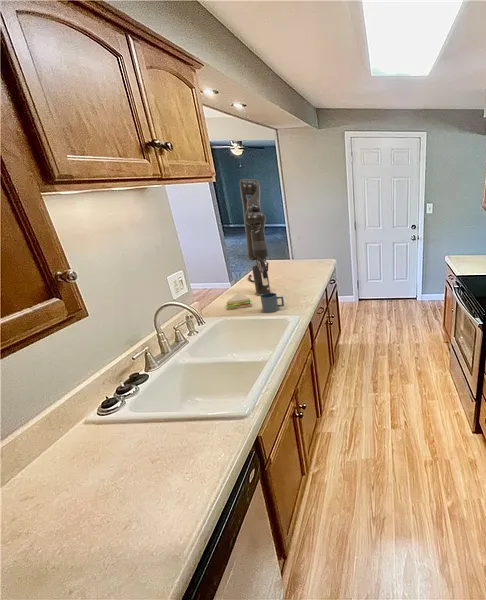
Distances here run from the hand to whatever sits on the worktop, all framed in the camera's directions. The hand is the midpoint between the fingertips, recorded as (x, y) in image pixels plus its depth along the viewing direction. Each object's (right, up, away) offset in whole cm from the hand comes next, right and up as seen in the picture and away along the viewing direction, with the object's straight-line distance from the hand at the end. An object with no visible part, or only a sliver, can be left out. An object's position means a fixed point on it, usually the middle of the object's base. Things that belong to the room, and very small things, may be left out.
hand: (264, 277), depth 192 cm
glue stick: (0, -4, +2) cm, 5 cm away
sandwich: (-22, -16, +18) cm, 32 cm away
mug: (+3, -19, +8) cm, 21 cm away
